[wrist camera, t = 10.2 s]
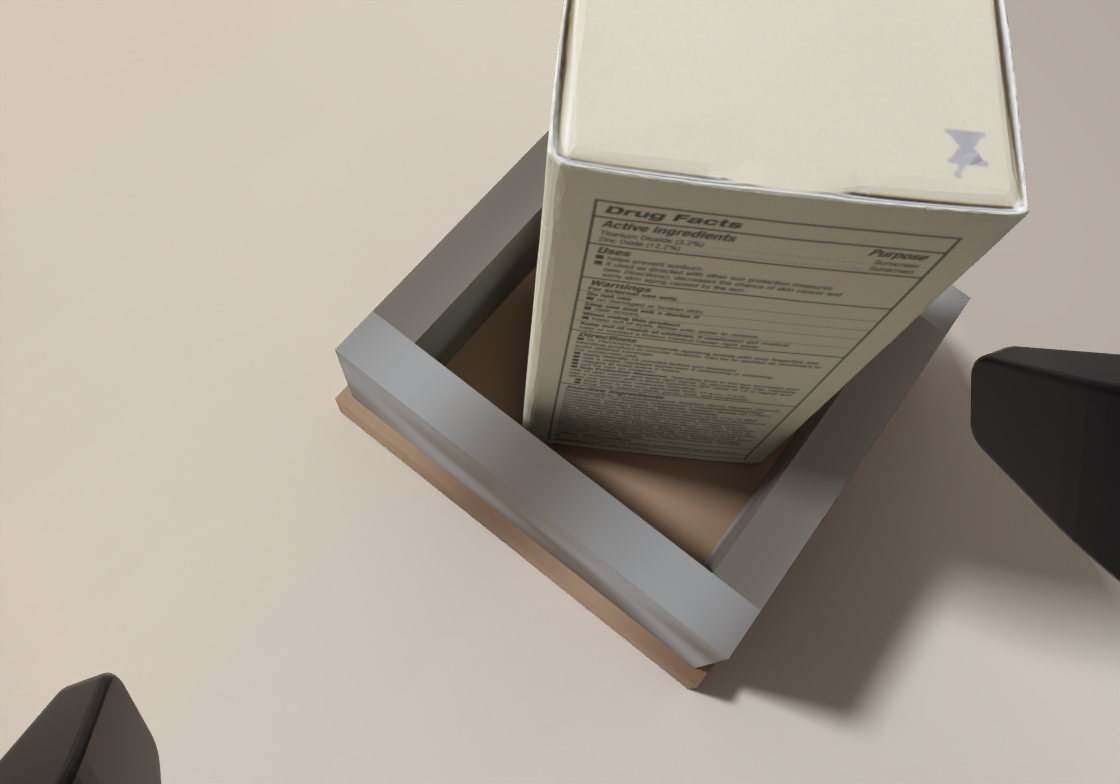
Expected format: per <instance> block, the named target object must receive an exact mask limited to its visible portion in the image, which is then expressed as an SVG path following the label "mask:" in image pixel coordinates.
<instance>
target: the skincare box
mask: <svg viewBox="0 0 1120 784" xmlns="http://www.w3.org/2000/svg"><path fill="white" fill-rule="evenodd" d="M1028 212H1029V207H1028V199H1027V192H1026V185H1025V168H1024V159H1023V147H1022V141H1021V125H1020V121H1019V106H1018V101H1017V93H1016V85H1015V75H1014V68H1013V58H1012V45H1011V39H1010V32H1009V25H1008V20H1007V12H1006V5H1005V0H564V3H563V10H562V18H561V26H560V33H559V41H558V49H557V59H556V68H555V77H554V86H553V96H552V105H551V115H550V125H549V136H548V146H547V158H546V172H545V186H544V197H543V208H542V219H541V230H540V241H539V251H538V260H537V270H536V281H535V292H534V303H533V314H532V325H531V335H530V345H529V355H528V365H527V377H526V388H525V399H524V411H523V423H522V427H524V428H525V429H526V430H527V431H529V432H530V433H531V434H533V435H534V436H535V437H537V438H538V439H539V440H540V441H542V442H548V443H556V444H565V445H571V446H579V447H587V448H596V449H605V450H613V451H624V452H632V453H641V454H651V455H660V456H669V457H679V458H689V459H699V460H710V461H723V462H737V463H748V464H759V463H761V462H763V461H764V460H765V459H766V458H767V457H769V456H770V455H771V454H772V453H773V452H774V451H775V450H776V449H777V448H778V447H779V446H780V445H781V444H782V443H783V442H784V441H785V440H787V438H789V437H790V436H791V435H792V434H793V433H794V432H795V431H796V430H797V429H798V428H799V427H800V426H801V425H802V424H803V423H805V422H806V421H807V420H808V419H809V418H810V417H811V416H812V415H813V414H814V413H815V412H816V411H818V410H819V409H820V408H821V407H822V406H823V405H824V404H825V403H826V402H827V401H828V400H829V399H830V398H831V397H833V396H834V395H835V394H836V393H837V392H838V391H839V390H840V389H841V388H842V387H843V386H844V385H845V384H846V383H848V382H849V381H850V380H851V379H852V378H853V377H854V376H855V375H856V374H857V373H858V372H859V371H860V370H861V369H862V368H863V367H864V366H865V365H866V364H868V363H869V362H870V361H871V360H872V359H873V358H874V357H875V356H876V355H877V354H878V353H879V352H880V351H881V350H883V349H884V348H885V347H886V346H887V345H888V344H890V343H891V342H892V341H893V340H894V339H895V338H896V337H897V336H898V335H899V334H900V333H901V332H902V331H903V330H904V329H905V328H906V327H907V326H908V325H909V324H910V323H911V322H912V321H913V320H914V319H916V318H917V317H918V316H919V315H920V314H921V313H922V312H924V311H925V310H926V309H927V307H928V306H929V305H931V304H932V303H933V302H934V301H935V300H936V299H937V298H938V297H939V296H940V295H941V294H942V293H943V292H944V291H945V290H946V289H947V288H948V287H950V286H951V285H952V284H953V283H954V282H955V281H956V280H957V279H958V278H959V277H960V276H962V275H963V274H964V273H965V272H966V271H967V270H968V269H969V268H970V267H971V266H973V265H974V264H975V263H976V262H977V261H978V260H979V259H980V258H981V257H982V256H984V255H985V254H986V253H987V252H988V251H989V250H990V249H991V248H992V247H993V246H994V245H995V244H996V243H997V242H998V241H1000V239H1002V238H1003V237H1004V236H1005V235H1006V234H1007V233H1008V232H1009V231H1010V230H1011V229H1012V228H1013V227H1014V226H1015V225H1016V224H1018V223H1019V222H1020V221H1021V220H1022V219H1023V218H1024V217H1025V216H1026V215H1027V214H1028Z"/></svg>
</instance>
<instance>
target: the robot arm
mask: <svg viewBox="0 0 1120 784" xmlns="http://www.w3.org/2000/svg"><path fill="white" fill-rule="evenodd" d="M971 428H972V433H973V435H974V437H975V439H976V441H977V443H978V444H979V446H980V447H981V448H982V449H983V450H984V451H985V452H986V453H987V454H988V455H989V456H990V457H991V458H992V459H993V460H994V461H995V462H996V464H997V465H998V466H999V467H1000V468H1001V469H1002V470H1003V471H1004V472H1005V473H1006V474H1007V475H1008V476H1009V477H1010V478H1011V479H1012V480H1013V481H1014V482H1015V483H1016V484H1017V485H1018V486H1019V487H1020V488H1021V489H1022V490H1023V491H1024V492H1025V493H1026V494H1027V495H1028V496H1029V497H1030V499H1031V500H1032V501H1033V502H1034V503H1035V504H1036V505H1037V506H1038V507H1039V508H1040V509H1041V510H1042V511H1043V512H1044V513H1045V514H1046V515H1047V516H1048V517H1049V518H1050V519H1051V520H1052V521H1053V522H1054V523H1055V524H1056V525H1057V526H1058V527H1059V528H1060V529H1061V530H1062V531H1063V532H1064V533H1065V534H1066V535H1067V536H1068V537H1069V538H1070V539H1071V540H1072V541H1073V542H1074V543H1075V544H1076V545H1077V546H1078V547H1080V548H1081V549H1082V550H1083V551H1084V552H1085V553H1086V554H1087V555H1088V556H1090V557H1091V558H1092V559H1093V560H1094V561H1095V562H1097V563H1098V564H1099V565H1100V566H1101V567H1102V568H1104V569H1105V570H1106V571H1107V572H1108V573H1109V574H1111V575H1112V576H1113V577H1114V578H1115V579H1117V580H1118V581H1119V582H1120V355H1119V354H1106V353H1094V352H1093V353H1092V352H1081V351H1068V350H1056V349H1043V348H1030V347H1017V346H1013V347H1007V348H1003V349H1001V350H998V351H995V352H993V353H990V354H987V355H984V356H982V357H980V358H979V359H978V360H977V361H976V362H975V363H974V365H973V368H972V373H971ZM0 784H161V774H160V762H159V756H158V751H157V747H156V744H155V741H154V739H153V736H152V734H151V732H150V731H149V729H148V727H147V725H146V724H145V722H144V720H143V718H142V716H141V715H140V713H139V711H138V709H137V707H136V706H135V704H134V702H133V700H132V699H131V697H130V695H129V693H128V691H127V690H126V688H125V686H124V684H123V683H122V681H121V680H120V679H119V678H118V677H117V676H116V675H114V674H111V673H103V674H100V675H97V676H95V677H92V678H89V679H86V680H84V681H81V682H78V683H75V684H72V685H70V686H67V687H65V688H64V689H62V690H61V691H60V692H59V693H58V694H57V695H56V696H55V697H54V699H53V700H52V701H51V702H50V703H49V704H48V705H47V707H46V708H45V709H44V710H43V711H42V712H41V714H40V715H39V716H38V717H37V718H36V719H35V721H34V722H33V723H32V724H31V725H30V726H29V727H28V729H27V730H26V731H25V732H24V733H23V734H22V736H21V737H20V738H19V739H18V740H17V741H16V743H15V744H14V745H13V746H12V747H11V748H10V749H9V751H8V752H7V753H6V754H5V755H4V756H3V758H2V759H1V760H0Z"/></svg>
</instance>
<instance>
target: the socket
mask: <svg viewBox="0 0 1120 784" xmlns="http://www.w3.org/2000/svg"><path fill="white" fill-rule="evenodd" d="M548 136H549V131H548V132H547V133H546V134H545V135H544V136H543V137H542V138H541V139H540V140H539V141H538V142H537V143H536V144H535V145H534V146H533V147H532V148H531V149H530V150H529V151H528V152H527V153H526V154H525V155H524V156H523V157H522V158H521V159H520V160H519V161H518V162H517V164H516V165H515V166H514V167H513V168H512V169H511V170H510V171H509V172H508V173H507V174H506V175H505V176H504V177H503V178H502V179H501V180H500V181H499V182H498V183H497V184H496V185H495V186H494V187H493V188H492V189H491V190H490V191H489V192H488V193H487V194H486V195H485V196H484V197H483V198H482V199H481V200H480V201H479V203H478V204H477V205H476V206H475V207H474V208H473V209H472V210H471V211H470V212H469V213H468V214H467V215H466V216H465V217H464V218H463V219H462V220H461V221H460V222H459V223H458V224H457V225H456V226H455V227H454V228H453V229H452V230H451V231H450V232H449V233H448V234H447V235H446V236H445V237H444V238H443V239H442V240H441V242H440V243H439V244H438V245H437V246H436V247H435V248H434V249H433V250H432V251H431V252H430V253H429V254H428V255H427V256H426V257H425V258H424V259H423V260H422V261H421V262H420V263H419V264H418V265H417V266H416V267H415V268H414V269H413V270H412V271H411V272H410V273H409V274H408V275H407V276H406V277H405V278H404V279H403V281H402V282H401V283H400V284H399V285H398V286H397V287H396V288H395V289H394V290H393V291H392V292H391V293H390V294H389V295H388V296H387V297H386V298H385V299H384V300H383V301H382V302H381V303H380V304H379V305H378V306H377V307H376V308H375V309H374V310H373V311H372V312H371V313H370V314H369V315H368V316H367V317H366V318H365V320H364V321H363V322H362V323H361V324H360V325H359V326H358V327H357V328H356V329H355V330H354V331H353V332H352V333H351V334H350V335H349V336H348V337H347V338H346V339H345V340H344V341H343V342H342V343H341V344H340V345H339V346H338V347H337V348H336V349H335V351H336V354H337V356H338V359H339V362H340V364H341V367H342V370H343V372H344V375H345V378H346V380H347V383H348V386H347V387H346V388H345V389H344V390H343V391H342V392H341V393H340V394H339V395H338V396H337V397H336V398H335V399H336V402H337V404H338V406H339V409H340V411H341V412H342V413H343V414H344V415H346V416H347V417H348V418H349V419H351V420H352V421H353V422H354V423H356V424H357V425H358V426H359V427H361V428H362V429H363V430H364V431H366V432H367V433H368V434H369V435H371V436H372V437H373V438H374V439H376V440H377V441H378V442H379V443H381V444H382V445H383V446H384V447H386V448H387V449H388V450H389V451H391V452H392V453H393V454H394V455H396V456H397V457H398V458H399V459H401V460H402V461H403V462H404V463H406V464H407V465H408V466H409V467H411V468H412V469H413V470H414V471H416V472H417V473H418V474H419V475H421V476H422V477H423V478H424V479H426V480H427V481H428V482H429V483H431V484H432V485H433V486H434V487H436V488H437V489H438V490H439V491H441V492H442V493H443V494H444V495H446V496H447V497H448V498H449V499H451V500H452V501H453V502H454V503H456V504H457V505H458V506H459V507H461V508H462V509H463V510H464V511H466V512H467V513H468V514H469V515H471V516H472V517H473V518H474V519H476V520H477V521H478V522H479V523H481V524H482V525H483V526H484V527H486V528H487V529H488V530H489V531H491V532H492V533H493V534H494V535H496V536H497V537H498V538H499V539H501V540H502V541H503V542H504V543H506V544H507V545H508V546H509V547H511V548H512V549H513V550H514V551H516V552H517V553H518V554H519V555H521V556H522V557H523V558H525V559H526V560H527V561H528V562H530V563H531V564H532V565H533V566H535V567H536V568H537V569H538V570H540V571H541V572H542V573H543V574H545V575H546V576H547V577H548V578H550V579H551V580H552V581H553V582H555V583H556V584H557V585H558V586H560V587H561V588H562V589H563V590H565V591H566V592H567V593H568V594H570V595H571V596H572V597H573V598H575V599H576V600H577V601H578V602H580V603H581V604H582V605H583V606H585V607H586V608H587V609H588V610H590V611H591V612H592V613H593V614H595V615H596V616H597V617H598V618H600V619H601V620H602V621H603V622H605V623H606V624H607V625H608V626H610V627H611V628H612V629H613V630H615V631H616V632H617V633H618V634H620V635H621V636H622V637H623V638H625V639H626V640H627V641H628V642H630V643H631V644H632V645H633V646H635V647H636V648H637V649H638V650H640V651H641V652H642V653H643V654H645V655H646V656H647V657H648V658H650V659H651V660H652V661H653V662H655V663H656V664H657V665H658V666H660V667H661V668H662V669H663V670H665V671H666V672H667V673H668V674H670V675H671V676H672V677H673V678H675V679H676V680H677V681H678V682H680V683H681V684H682V685H683V686H685V687H686V688H687V689H692V688H697V687H698V686H699V685H700V683H701V682H702V680H703V679H704V677H705V676H706V674H707V673H708V671H709V670H710V668H711V667H712V665H713V664H714V663H716V662H720V661H723V660H727V659H729V658H730V656H731V655H732V653H733V652H734V650H735V649H736V647H737V646H738V644H739V643H740V641H741V640H742V638H743V637H744V635H745V634H746V632H747V631H748V629H749V628H750V626H751V625H752V623H753V622H754V620H755V619H756V617H757V616H758V614H759V613H760V611H761V610H762V608H763V607H764V605H765V604H766V602H767V601H768V599H769V598H770V596H771V595H772V593H773V592H774V590H775V589H776V588H777V586H778V585H779V583H780V582H781V580H782V579H783V577H784V576H785V574H786V573H787V571H788V570H789V568H790V567H791V565H792V564H793V562H794V561H795V559H796V558H797V556H798V555H799V553H800V552H801V550H802V549H803V547H804V546H805V544H806V543H807V541H808V540H809V538H810V537H811V535H812V534H813V532H814V531H815V529H816V528H817V526H818V525H819V523H820V522H821V520H822V519H823V517H824V516H825V514H826V513H827V511H828V510H829V508H830V507H831V505H832V504H833V503H834V501H835V500H836V498H837V497H838V495H839V494H840V492H841V491H842V489H843V488H844V486H845V485H846V483H847V482H848V480H849V479H850V477H851V476H852V474H853V473H854V471H855V470H856V468H857V467H858V465H859V464H860V462H861V461H862V459H863V458H864V456H865V455H866V453H867V452H868V450H869V449H870V447H871V446H872V444H873V443H874V441H875V440H876V438H877V437H878V435H879V434H880V432H881V431H882V429H883V428H884V426H885V425H886V423H887V422H888V420H889V419H890V418H891V416H892V415H893V413H894V412H895V410H896V409H897V407H898V406H899V404H900V403H901V401H902V400H903V398H904V397H905V395H906V394H907V392H908V391H909V389H910V388H911V386H912V385H913V383H914V382H915V380H916V379H917V377H918V376H919V374H920V373H921V371H922V370H923V368H924V367H925V365H926V364H927V362H928V361H929V359H930V358H931V356H932V355H933V353H934V352H935V350H936V349H937V347H938V346H939V344H940V343H941V341H942V340H943V338H944V337H945V335H946V334H947V332H948V331H949V330H950V328H951V327H952V325H953V324H954V322H955V321H956V319H957V318H958V316H959V315H960V313H961V311H962V310H963V308H964V307H965V306H966V304H967V303H968V301H969V300H970V297H968V296H967V295H965V294H964V293H962V292H961V291H960V290H958V289H957V288H955V287H954V286H952V285H951V286H950V287H948V288H947V289H946V290H945V291H944V292H943V293H942V294H941V295H940V296H939V297H938V298H937V299H936V300H935V301H934V302H933V303H932V304H931V305H929V306H928V307H927V309H926V310H925V311H924V312H922V313H921V314H920V315H919V316H918V317H917V318H916V319H914V320H913V321H912V322H911V323H910V324H909V325H908V326H907V327H906V328H905V329H904V330H903V331H902V332H901V333H900V334H899V335H898V336H897V337H896V338H895V339H894V340H893V341H892V342H891V343H890V344H888V345H887V346H886V347H885V348H884V349H883V350H881V351H880V352H879V353H878V354H877V355H876V356H875V357H874V358H873V359H872V360H871V361H870V362H869V363H868V364H866V365H865V366H864V367H863V368H862V369H861V370H860V371H859V372H858V373H857V374H856V375H855V376H854V377H853V378H852V379H851V380H850V381H849V382H848V383H846V384H845V385H844V386H843V387H842V388H841V389H840V390H839V391H838V392H837V393H836V394H835V395H834V396H833V397H831V398H830V399H829V400H828V401H827V402H826V403H825V404H824V405H823V406H822V407H821V408H820V409H819V410H818V411H816V412H815V413H814V414H813V415H812V416H811V417H810V418H809V419H808V420H807V421H806V422H805V423H803V424H802V425H801V426H800V427H799V428H798V429H797V430H796V431H795V432H794V433H793V434H792V435H791V436H790V437H789V438H787V440H785V441H784V442H783V443H782V444H781V445H780V446H779V447H778V448H777V449H776V450H775V451H774V452H773V453H772V454H771V455H770V456H769V457H767V458H766V459H765V460H764V461H763V462H761V463H759V464H748V463H737V462H723V461H710V460H699V459H689V458H679V457H669V456H660V455H651V454H641V453H632V452H624V451H613V450H605V449H596V448H587V447H579V446H571V445H565V444H556V443H548V442H542V441H540V440H539V439H538V438H537V437H535V436H534V435H533V434H531V433H530V432H529V431H527V430H526V429H525V428H524V427H522V423H523V411H524V399H525V388H526V377H527V365H528V355H529V345H530V335H531V325H532V314H533V303H534V292H535V281H536V270H537V260H538V251H539V241H540V230H541V219H542V208H543V197H544V186H545V172H546V158H547V146H548Z"/></svg>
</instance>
